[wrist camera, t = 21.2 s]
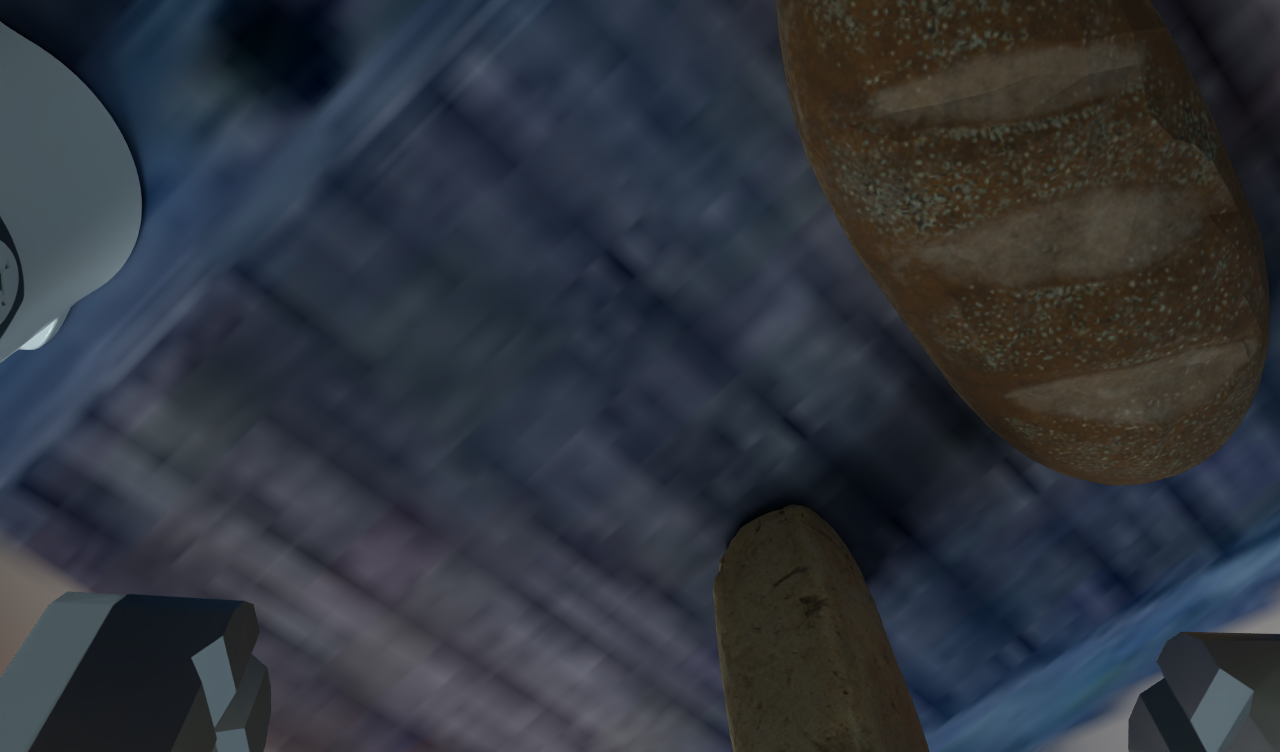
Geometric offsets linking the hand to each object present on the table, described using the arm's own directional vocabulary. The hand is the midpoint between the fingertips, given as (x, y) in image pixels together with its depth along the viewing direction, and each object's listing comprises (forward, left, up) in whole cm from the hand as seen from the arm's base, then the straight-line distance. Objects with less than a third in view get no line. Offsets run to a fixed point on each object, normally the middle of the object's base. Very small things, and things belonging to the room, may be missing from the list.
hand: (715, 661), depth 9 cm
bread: (+19, -10, -40) cm, 45 cm away
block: (+12, -35, -39) cm, 54 cm away
